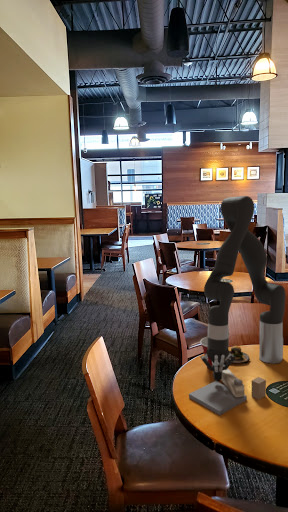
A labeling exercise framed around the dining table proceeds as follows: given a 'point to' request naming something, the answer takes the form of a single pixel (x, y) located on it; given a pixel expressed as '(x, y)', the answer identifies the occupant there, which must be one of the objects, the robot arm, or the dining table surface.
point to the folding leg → (233, 383)
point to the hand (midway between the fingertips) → (217, 380)
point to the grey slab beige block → (225, 395)
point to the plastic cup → (205, 348)
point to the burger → (239, 355)
